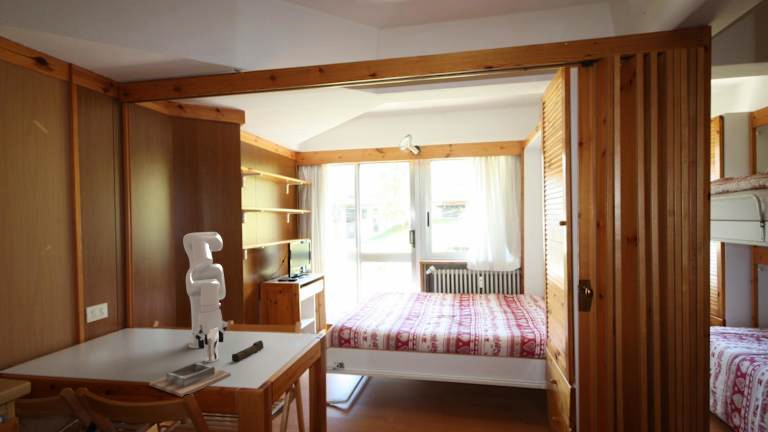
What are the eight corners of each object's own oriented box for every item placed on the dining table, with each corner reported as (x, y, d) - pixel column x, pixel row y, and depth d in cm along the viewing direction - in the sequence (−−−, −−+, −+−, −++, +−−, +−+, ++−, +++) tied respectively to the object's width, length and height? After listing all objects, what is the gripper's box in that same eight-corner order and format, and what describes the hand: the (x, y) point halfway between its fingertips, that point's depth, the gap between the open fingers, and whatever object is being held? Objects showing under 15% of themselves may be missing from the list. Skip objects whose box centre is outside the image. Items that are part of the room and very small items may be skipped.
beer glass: (203, 363, 160) (202, 330, 160) (203, 359, 166) (202, 326, 167) (220, 360, 163) (219, 327, 164) (219, 355, 170) (218, 324, 170)
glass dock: (149, 385, 139) (149, 374, 140) (197, 366, 157) (197, 357, 157) (182, 397, 129) (182, 385, 129) (230, 375, 146) (230, 365, 146)
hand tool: (237, 363, 160) (237, 352, 160) (231, 362, 162) (231, 351, 162) (267, 349, 177) (267, 339, 178) (261, 348, 179) (261, 339, 179)
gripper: (221, 303, 175) (222, 338, 174) (187, 311, 160) (188, 350, 159) (231, 304, 171) (232, 340, 170) (197, 312, 156) (198, 352, 155)
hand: (211, 345), depth 165 cm, fingers open, 9 cm apart
